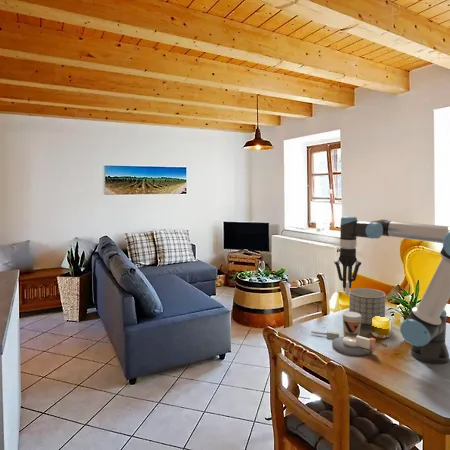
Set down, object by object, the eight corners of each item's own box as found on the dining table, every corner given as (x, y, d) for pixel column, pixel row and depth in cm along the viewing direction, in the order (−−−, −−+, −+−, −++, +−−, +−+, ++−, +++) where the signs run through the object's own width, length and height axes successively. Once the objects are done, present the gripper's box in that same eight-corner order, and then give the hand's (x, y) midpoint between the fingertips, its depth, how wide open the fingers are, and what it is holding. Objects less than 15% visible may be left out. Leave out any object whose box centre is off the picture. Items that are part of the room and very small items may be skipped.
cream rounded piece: (340, 343, 173) (340, 333, 172) (347, 338, 178) (347, 328, 178) (371, 353, 162) (372, 342, 162) (378, 347, 168) (378, 337, 167)
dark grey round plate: (373, 343, 176) (373, 340, 176) (368, 359, 161) (368, 355, 161) (336, 336, 185) (336, 333, 185) (328, 350, 170) (328, 346, 170)
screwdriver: (339, 337, 185) (339, 332, 185) (338, 339, 183) (338, 334, 182) (311, 333, 190) (311, 328, 190) (310, 335, 188) (311, 330, 188)
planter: (346, 317, 214) (346, 287, 212) (379, 318, 211) (379, 288, 210) (352, 329, 195) (353, 297, 193) (389, 330, 193) (390, 298, 191)
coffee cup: (341, 338, 183) (341, 316, 182) (342, 332, 192) (343, 310, 190) (360, 341, 179) (361, 318, 178) (361, 334, 188) (361, 312, 187)
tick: (363, 350, 166) (363, 349, 166) (364, 349, 167) (364, 349, 167) (368, 352, 164) (368, 351, 164) (369, 351, 165) (369, 351, 164)
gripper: (359, 246, 178) (358, 292, 180) (332, 246, 179) (331, 291, 181) (363, 249, 170) (362, 296, 173) (336, 248, 172) (335, 296, 174)
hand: (346, 294), depth 177 cm, fingers closed
